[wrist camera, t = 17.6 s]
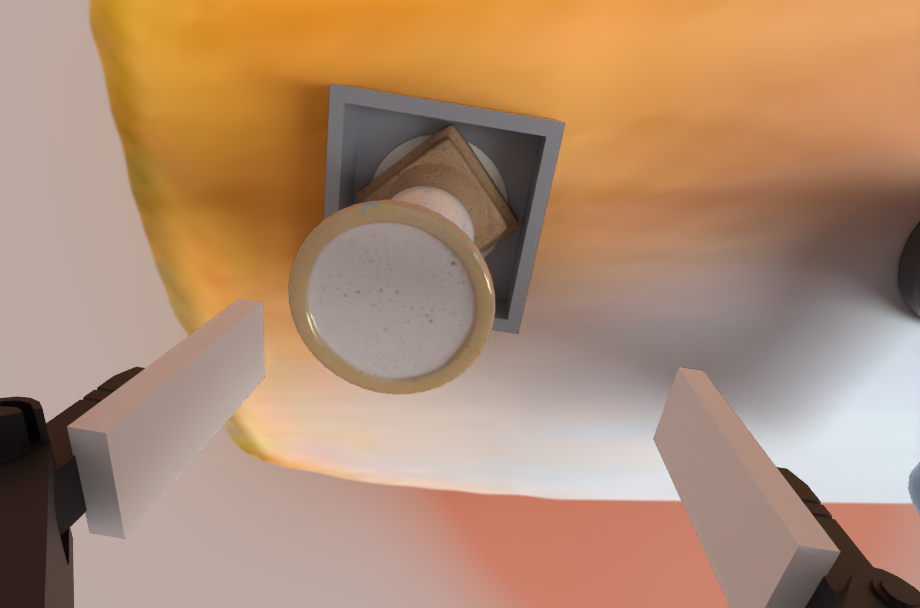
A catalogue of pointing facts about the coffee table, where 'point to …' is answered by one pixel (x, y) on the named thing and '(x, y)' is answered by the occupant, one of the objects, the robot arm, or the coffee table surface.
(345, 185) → the walled bin
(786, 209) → the coffee table surface
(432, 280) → the candle holder
